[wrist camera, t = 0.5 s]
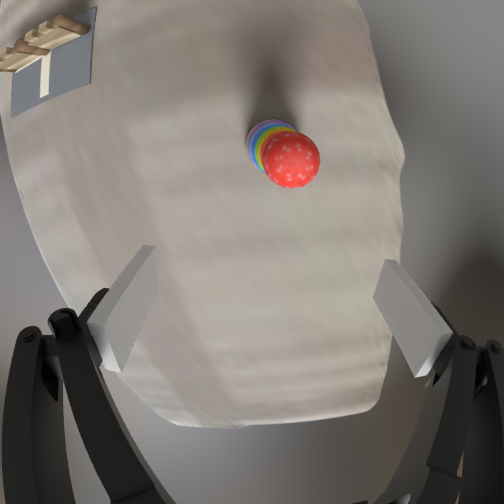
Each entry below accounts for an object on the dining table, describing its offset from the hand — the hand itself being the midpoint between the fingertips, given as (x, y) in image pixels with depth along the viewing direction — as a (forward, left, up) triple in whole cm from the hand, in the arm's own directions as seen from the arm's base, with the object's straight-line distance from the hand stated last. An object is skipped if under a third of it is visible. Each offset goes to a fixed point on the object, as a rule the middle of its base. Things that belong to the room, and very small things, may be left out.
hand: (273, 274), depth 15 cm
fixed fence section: (-30, -43, -27) cm, 59 cm away
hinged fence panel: (-30, -32, -26) cm, 51 cm away
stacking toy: (-5, +2, -27) cm, 28 cm away
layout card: (-27, -38, -27) cm, 54 cm away
